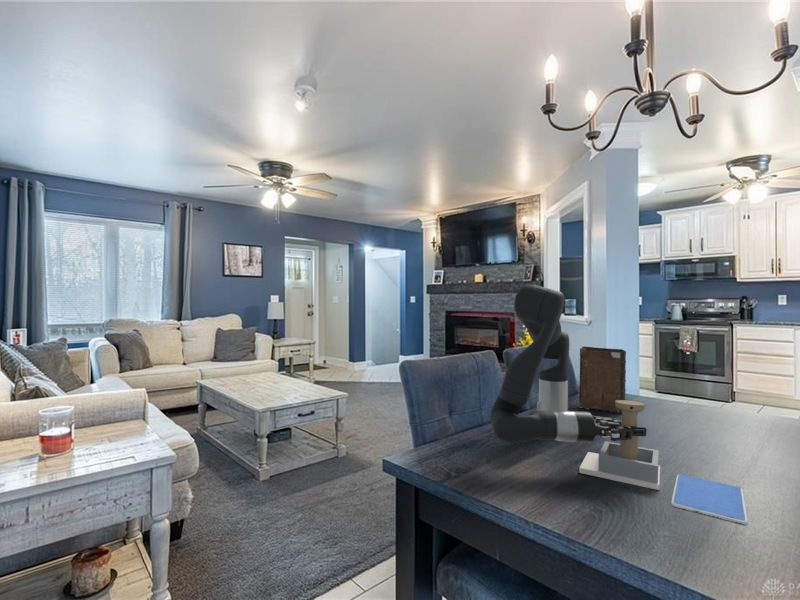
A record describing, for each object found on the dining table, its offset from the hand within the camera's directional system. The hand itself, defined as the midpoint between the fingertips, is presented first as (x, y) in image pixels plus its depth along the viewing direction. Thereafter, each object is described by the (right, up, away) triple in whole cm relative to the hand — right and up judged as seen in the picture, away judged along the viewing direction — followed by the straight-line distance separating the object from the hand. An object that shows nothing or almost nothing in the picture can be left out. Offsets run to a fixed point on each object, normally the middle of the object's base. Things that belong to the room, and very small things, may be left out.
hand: (640, 428), depth 103 cm
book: (+21, -12, +62) cm, 67 cm away
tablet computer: (+8, -12, -12) cm, 19 cm away
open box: (-5, -11, +1) cm, 12 cm away
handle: (-3, -9, 0) cm, 9 cm away
